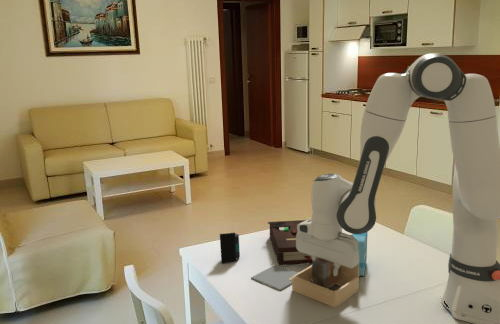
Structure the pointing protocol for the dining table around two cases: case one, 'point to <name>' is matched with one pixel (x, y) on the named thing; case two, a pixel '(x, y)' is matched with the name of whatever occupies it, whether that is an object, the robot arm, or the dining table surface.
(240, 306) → the dining table surface
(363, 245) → the blue rounded block
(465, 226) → the robot arm
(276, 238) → the decorative book
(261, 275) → the mat
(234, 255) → the speaker
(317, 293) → the drawer
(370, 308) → the dining table surface
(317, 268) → the box
